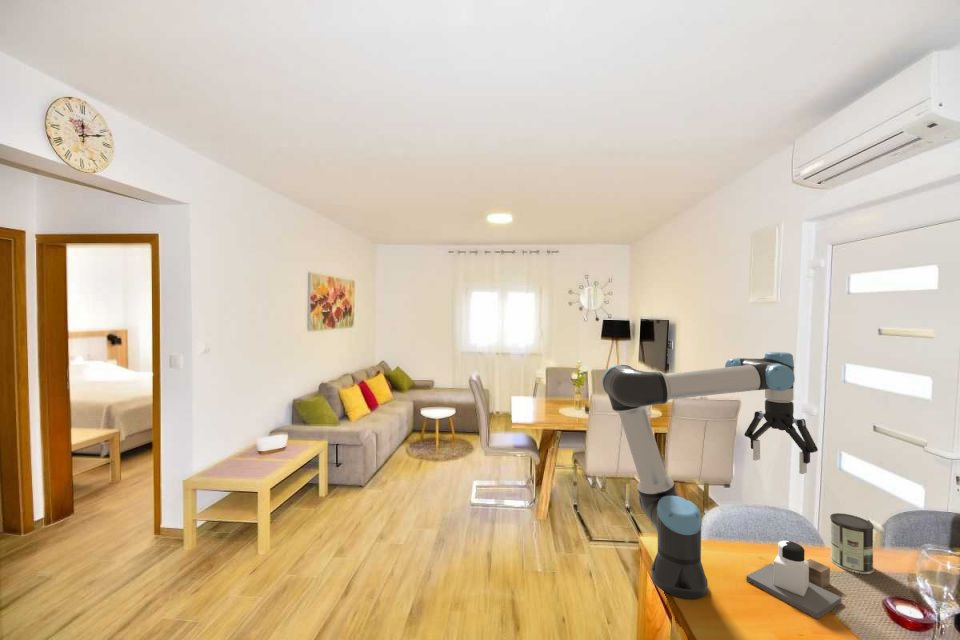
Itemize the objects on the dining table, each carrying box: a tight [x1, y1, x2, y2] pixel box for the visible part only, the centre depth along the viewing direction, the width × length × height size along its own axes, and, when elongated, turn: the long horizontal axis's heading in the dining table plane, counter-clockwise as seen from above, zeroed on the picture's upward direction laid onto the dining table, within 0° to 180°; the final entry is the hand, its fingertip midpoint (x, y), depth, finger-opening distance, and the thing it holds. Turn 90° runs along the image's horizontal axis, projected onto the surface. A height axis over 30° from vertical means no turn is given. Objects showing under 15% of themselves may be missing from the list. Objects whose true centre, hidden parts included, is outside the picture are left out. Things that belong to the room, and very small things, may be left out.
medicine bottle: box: [773, 540, 809, 597], centre depth 120 cm, size 7×7×12 cm
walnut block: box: [806, 558, 831, 589], centre depth 124 cm, size 5×5×5 cm
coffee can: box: [829, 512, 875, 575], centre depth 133 cm, size 10×10×14 cm
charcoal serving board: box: [745, 563, 842, 620], centre depth 120 cm, size 18×13×2 cm
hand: (778, 466), depth 135 cm, fingers open, 13 cm apart
